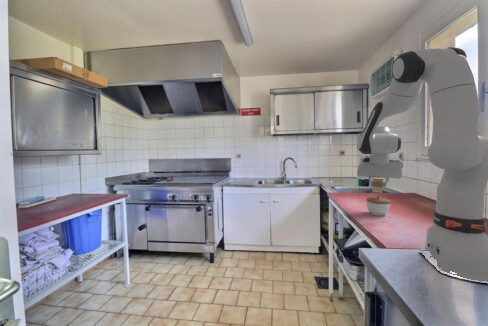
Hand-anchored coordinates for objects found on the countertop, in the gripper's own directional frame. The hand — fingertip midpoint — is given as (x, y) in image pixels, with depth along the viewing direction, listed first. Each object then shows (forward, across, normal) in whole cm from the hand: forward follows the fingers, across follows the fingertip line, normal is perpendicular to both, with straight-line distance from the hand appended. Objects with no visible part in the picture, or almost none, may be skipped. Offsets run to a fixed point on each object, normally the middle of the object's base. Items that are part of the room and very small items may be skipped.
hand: (378, 186), depth 126 cm
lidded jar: (+15, 0, 0) cm, 15 cm away
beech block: (+2, 0, 0) cm, 2 cm away
